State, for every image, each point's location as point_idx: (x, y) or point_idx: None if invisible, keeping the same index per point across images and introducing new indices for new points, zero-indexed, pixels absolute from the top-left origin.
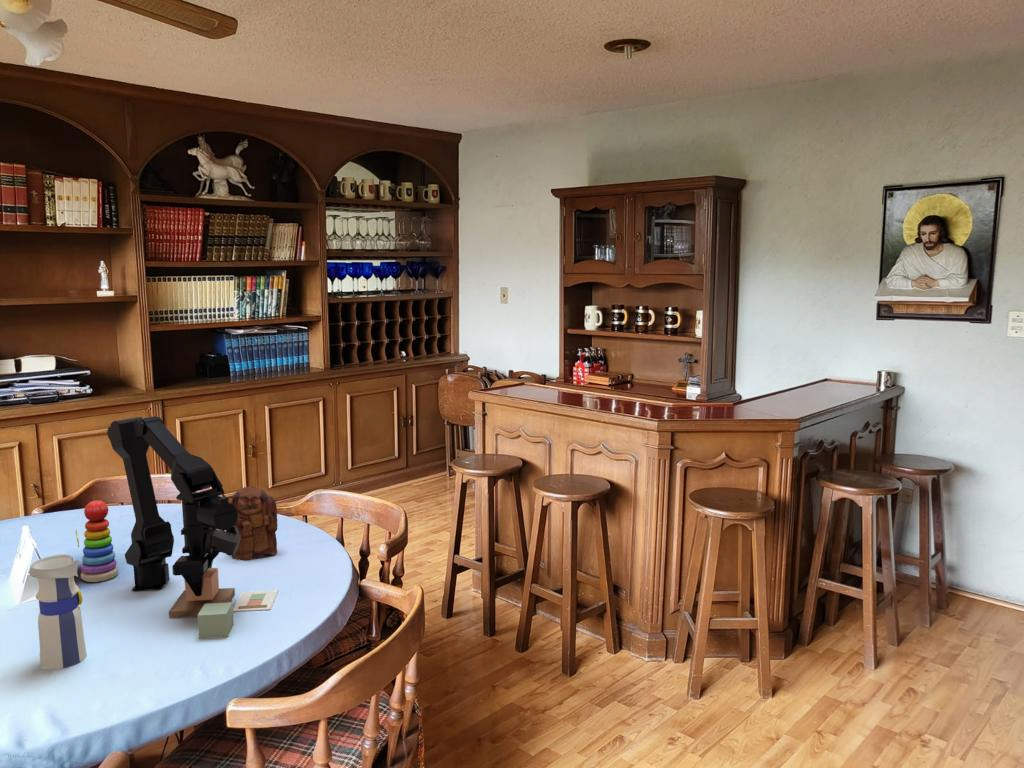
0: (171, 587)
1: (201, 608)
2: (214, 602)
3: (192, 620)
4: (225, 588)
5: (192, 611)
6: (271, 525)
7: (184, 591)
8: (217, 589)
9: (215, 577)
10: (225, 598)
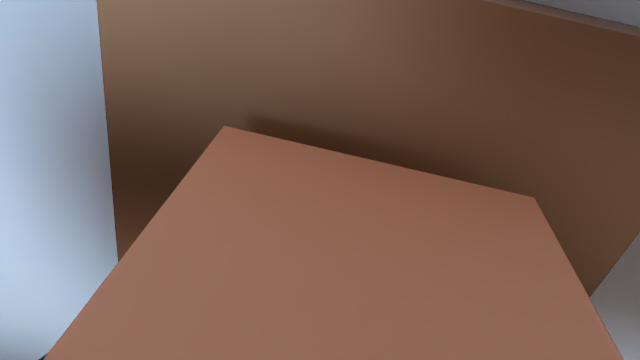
0: (2, 348)
1: (577, 263)
2: (490, 155)
3: (615, 280)
4: (105, 36)
5: None
6: None
7: None
8: (290, 154)
9: (324, 322)
10: (422, 33)
